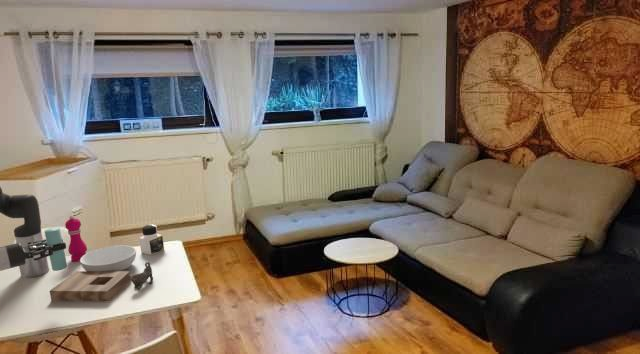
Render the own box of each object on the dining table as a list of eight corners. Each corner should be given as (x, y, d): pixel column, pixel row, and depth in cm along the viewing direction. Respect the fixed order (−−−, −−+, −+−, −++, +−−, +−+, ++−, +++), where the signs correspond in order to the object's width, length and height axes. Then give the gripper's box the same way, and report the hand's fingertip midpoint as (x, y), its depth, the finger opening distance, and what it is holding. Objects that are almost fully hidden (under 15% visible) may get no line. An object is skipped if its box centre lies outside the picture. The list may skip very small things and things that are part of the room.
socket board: (51, 301, 170) (49, 290, 169) (78, 280, 185) (76, 271, 184) (109, 301, 167) (107, 291, 166) (131, 280, 183) (129, 271, 182)
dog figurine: (144, 278, 185) (141, 260, 183) (157, 279, 183) (155, 261, 182) (126, 293, 173) (123, 274, 171) (140, 293, 172) (137, 274, 170)
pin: (49, 270, 163) (41, 232, 160) (58, 265, 168) (50, 227, 164) (61, 270, 163) (53, 232, 159) (70, 265, 167) (62, 227, 164)
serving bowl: (125, 280, 184) (123, 264, 182) (72, 282, 184) (69, 266, 183) (145, 258, 204) (143, 243, 202) (98, 260, 205) (95, 245, 203)
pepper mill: (70, 263, 203) (61, 219, 198) (70, 257, 209) (61, 214, 204) (88, 259, 206) (81, 216, 201) (88, 254, 212) (80, 211, 207)
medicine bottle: (151, 255, 207) (147, 229, 204) (141, 252, 210) (137, 227, 207) (164, 249, 212) (161, 224, 210) (154, 247, 216) (150, 222, 213)
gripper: (6, 253, 148) (66, 238, 158) (1, 240, 159) (58, 227, 169) (11, 275, 150) (70, 259, 160) (6, 261, 161) (62, 247, 171)
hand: (63, 243), depth 165 cm, fingers closed on pin, 4 cm apart
